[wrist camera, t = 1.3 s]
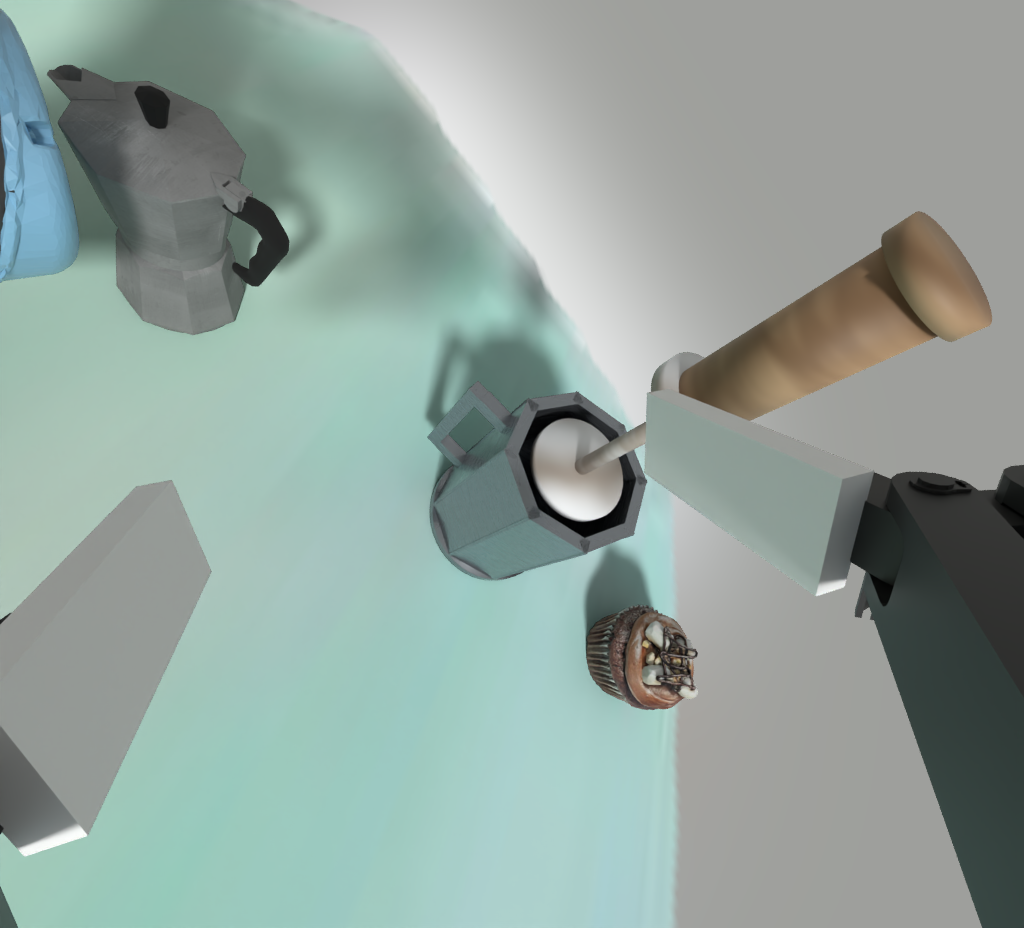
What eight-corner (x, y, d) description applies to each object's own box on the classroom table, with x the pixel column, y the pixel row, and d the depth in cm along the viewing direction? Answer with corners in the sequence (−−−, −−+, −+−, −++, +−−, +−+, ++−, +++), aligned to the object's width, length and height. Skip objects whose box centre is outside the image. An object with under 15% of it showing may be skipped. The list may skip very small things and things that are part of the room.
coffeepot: (61, 271, 38) (-58, 26, 23) (152, 213, 42) (103, -20, 28) (241, 385, 41) (240, 239, 26) (306, 320, 46) (336, 165, 31)
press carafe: (405, 446, 47) (468, 366, 34) (512, 427, 54) (599, 355, 41) (453, 599, 44) (543, 578, 31) (559, 558, 51) (669, 526, 38)
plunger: (515, 430, 35) (855, 158, 15) (594, 416, 39) (935, 189, 20) (552, 534, 33) (978, 377, 14) (630, 507, 38) (1036, 359, 18)
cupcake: (651, 706, 50) (730, 717, 42) (576, 702, 46) (648, 714, 38) (647, 613, 54) (719, 607, 46) (578, 602, 50) (643, 593, 42)
